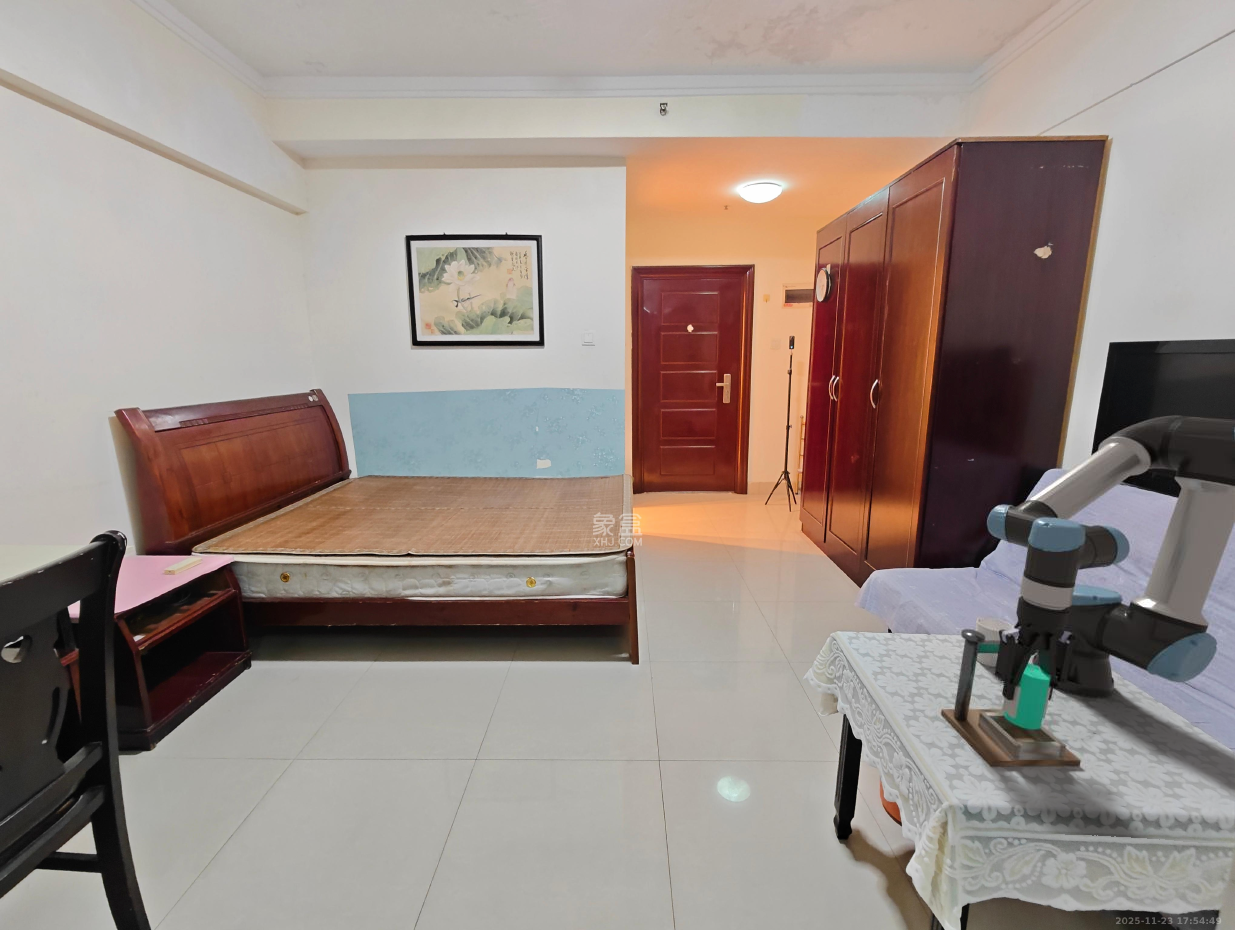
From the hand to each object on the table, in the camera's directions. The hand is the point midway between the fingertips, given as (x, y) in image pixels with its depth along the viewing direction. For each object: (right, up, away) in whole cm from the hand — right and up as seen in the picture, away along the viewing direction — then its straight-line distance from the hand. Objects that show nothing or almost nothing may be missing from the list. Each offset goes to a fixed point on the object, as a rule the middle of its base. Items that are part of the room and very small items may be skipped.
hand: (1023, 713), depth 103 cm
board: (-1, -7, +4) cm, 8 cm away
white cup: (+16, -2, +32) cm, 36 cm away
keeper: (0, -5, +8) cm, 9 cm away
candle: (0, -1, 0) cm, 2 cm away
